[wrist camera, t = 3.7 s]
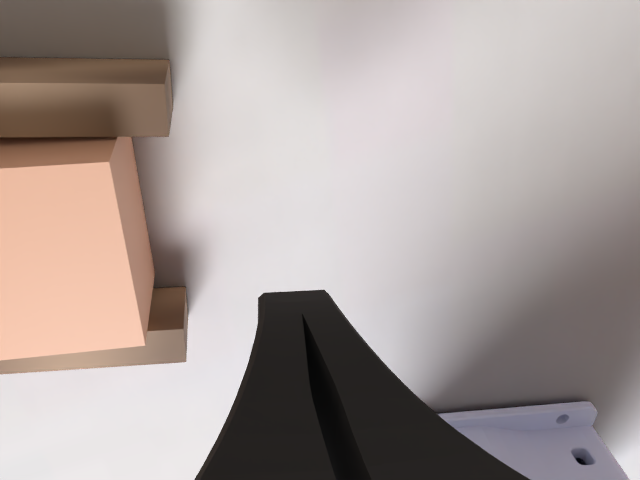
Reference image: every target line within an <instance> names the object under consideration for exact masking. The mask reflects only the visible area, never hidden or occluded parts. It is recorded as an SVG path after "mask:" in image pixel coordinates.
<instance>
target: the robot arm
mask: <svg viewBox="0 0 640 480" xmlns="http://www.w3.org/2000/svg"><path fill="white" fill-rule="evenodd" d="M596 416H597V410H596V408H595V407H594V405H593V404H592V403H591V402H587V401H582V402H570V403H559V404H547V405H535V406H524V407H512V408H500V409H489V410H477V411H465V412H454V413H442V414H436V413H435V412H434V411H433V410H432V409H431V408H429V407H428V406H427V405H426V404H425V403H424V402H423V401H422V400H420V399H419V398H418V397H417V396H416V395H415V394H414V393H413V392H412V391H411V390H410V389H409V388H408V387H407V386H406V385H405V384H404V383H403V382H402V381H401V380H400V379H399V378H398V377H397V376H396V375H395V374H394V373H393V372H392V371H391V370H390V369H389V368H388V367H387V366H386V365H385V364H384V363H383V361H382V360H381V359H380V358H379V357H378V356H377V355H376V353H375V352H374V351H373V350H372V349H371V348H370V347H369V345H368V344H367V343H366V342H365V341H364V340H363V338H362V337H361V336H360V335H359V334H358V332H357V331H356V330H355V329H354V327H353V326H352V325H351V324H350V322H349V321H348V320H347V318H346V317H345V316H344V314H343V313H342V312H341V310H340V309H339V308H338V306H337V305H336V304H335V302H334V301H333V299H332V298H331V297H330V295H329V294H328V293H327V292H326V291H325V290H312V291H292V292H272V293H263V294H262V295H261V296H260V297H259V298H258V326H257V331H256V336H255V340H254V344H253V348H252V351H251V355H250V359H249V362H248V365H247V369H246V371H245V374H244V377H243V380H242V382H241V385H240V388H239V391H238V393H237V396H236V399H235V401H234V403H233V406H232V408H231V410H230V413H229V415H228V417H227V419H226V422H225V424H224V426H223V428H222V430H221V432H220V434H219V436H218V438H217V440H216V442H215V444H214V446H213V448H212V449H211V451H210V453H209V455H208V457H207V459H206V461H205V462H204V464H203V466H202V468H201V470H200V471H199V473H198V475H197V476H196V478H195V480H630V479H629V478H628V477H627V475H626V474H625V472H624V471H623V469H622V468H621V466H620V465H619V464H618V462H617V461H616V459H615V458H614V456H613V455H612V454H611V452H610V451H609V449H608V448H607V446H606V445H605V443H604V442H603V441H602V439H601V438H600V436H599V435H598V433H597V432H596V430H595V429H594V428H593V427H592V426H593V424H594V421H595V419H596Z"/></svg>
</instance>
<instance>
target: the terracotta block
mask: <svg viewBox="0 0 640 480" xmlns="http://www.w3.org/2000/svg"><path fill="white" fill-rule="evenodd" d="M154 276H155V270H154V265H153V259H152V253H151V247H150V241H149V236H148V230H147V224H146V218H145V212H144V207H143V201H142V195H141V189H140V183H139V178H138V172H137V166H136V160H135V154H134V149H133V143H132V137H0V360H10V359H20V358H30V357H39V356H49V355H59V354H69V353H79V352H88V351H98V350H108V349H118V348H128V347H137V346H145V344H146V337H147V329H148V322H149V314H150V306H151V299H152V291H153V284H154Z"/></svg>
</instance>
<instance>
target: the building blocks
mask: <svg viewBox="0 0 640 480" xmlns="http://www.w3.org/2000/svg"><path fill="white" fill-rule="evenodd" d="M172 110H173V102H172V88H171V74H170V60H153V59H86V58H20V57H0V137H169V131H170V124H171V117H172ZM187 327H188V313H187V299H186V287H170V288H153V291H152V299H151V306H150V314H149V322H148V329H147V337H146V344H145V346H137V347H128V348H118V349H108V350H98V351H88V352H79V353H69V354H59V355H49V356H39V357H30V358H20V359H10V360H0V374H12V373H27V372H42V371H58V370H73V369H88V368H103V367H118V366H133V365H148V364H164V363H179V362H186V351H187Z"/></svg>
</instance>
